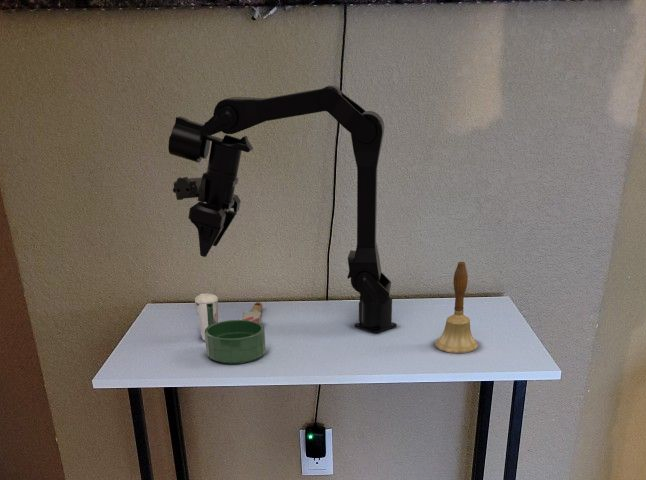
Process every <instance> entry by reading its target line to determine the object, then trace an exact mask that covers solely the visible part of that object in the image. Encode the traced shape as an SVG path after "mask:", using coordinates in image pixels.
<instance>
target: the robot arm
mask: <svg viewBox="0 0 646 480" xmlns="http://www.w3.org/2000/svg"><path fill="white" fill-rule="evenodd" d="M322 112H327V113H328V114H329V115H330V116H331V117H333V119H334V120H336V121H337V122H338V123H339V125H341V127H342V128H344V129H345V130H346V131H347V132H349V133H350V137H351V144H352V150H353V151H352V152H353V155H354V159H355V164H356V170H357V171H356V173H357V174H356V176H357V178H356V246H355V247H356V249H355V250H352V249H351V250H349V253H348V256H347V265H348V274H347V277H346V278H347V279H348V280H349V279H350V285H351V287H352V288H353V289H354V291H355V292H357V293H359V302H358V322H355V323H354V327H355V328H356V329H357V328H358V329H362V330H363V331H367V332H370V333H373V334H379V333H381V332H384V331H387V330H390V329H393V328H396V327H397V325H398V323H395V322H394V321H392V320H393V298H392V297H391V296H390V293H391V292H390V291H391V288H392V281H391V280H390V279H389V278H388V277H387V276H386V275H385V274H384V272H382V266H381V259H380V253H379V248H378V243H377V216H378V215H377V212H378V211H377V209H378V207H377V206H378V205H377V204H378V166H379V161H380V155H381V151H382V145H383V140H384V134H385V121H384V119H383V117H382V116H381V115H380V114H379V113H377V112H375V111H373V110H365V109H364V108H363V107H362V106H361V105H359V103H357V102H355V101H354V100H353V99H351V98H350V97H349V96H347V94H345V93H343V91H342V90H341V89H340V88H339V86H336V85H331V84H330V85H327V86H325V87H321V88H316V89H311V90H310V89H309V90H303V91H299V92H294V93H293V92H292V93H287V94H282V95H281V94H280V95H275V96H271V97H254V96H253V97H250V96H231V97H230V96H229V97H228V98H224V99H222V100H219V101H218V102H217V103H216V105H215V107H214V110H213V115H212V117H210V118H209V119H208V120H207V121H205V122H204V124H203V123H199V122H197V121H194V120H191V119H189V118H187V117H184V116H181V115H179V116H177V117H175V121H174V124H173V127H172V129H171V132H170V135H169V137H168V138H169V139H168V153H169V154H170V155H171V156H174V157H178V158H181V159H185V160H189V161H192V162H195V163H198V164H200V163H201V161H202V159H204V160H207V158H208V163H207V168H206V171H205V172H204V173H202V175H201V177H190V178H189V177H188V176H184V177H181V176H180V177H178V178H176V180H175V181H173V188H172V192H173V193H174V194H175V199H176V201H183V200H184V199H195V198H197V201H198V202H196V203H195V204H194V205H192V206H190V208H189V212H188V217H187V218H188V220H190V223H191V224H193V225H194V227H195V228H196V229H197V235H198V245H199V255H200V257H204V258H206V257H207V256H208V254H209V252H210V251H211V249H212V247H217V246H218V245H219V243H220V242H221V240H222V238H223V236H224V235H225V233H226V231H228V229H229V227H230V226H231V224H232V223H233V221H234V219H235V218H236V216H237V214H238V212H239V211H240V207H241V203H242V201H241V199H240V197H239V196H238V195H237V194H235V191H236V190H235V189H236V188H235V187H236V185H238V183H239V177H238V172H239V167H240V162H241V156H242V152H245V153H250V152H251V151H253V150H254V146H252V144H251V142H250V141H249V137H248V136H247V135H244V136H242V137H241V138H239V137H235V136H232V135H234V134H236V133H240V132H242V131H245V130H248V129H249V128H252V127H255V126H257V125H260V124H263V123H265V122H270V121H276V120H280V119H287V118H293V117H298V116H304V115H311V114H316V113H322ZM221 132H222V133H223V134H225V135H224V136H223V138H222V137H217V136H215V134H219V133H221ZM231 209H233V210H231Z"/></svg>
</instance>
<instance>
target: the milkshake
mask: <svg viewBox="0 0 646 480" xmlns="http://www.w3.org/2000/svg"><path fill="white" fill-rule="evenodd" d="M216 291H217V285H214V286H213V292H212V293H207V292H206V293H200V294H198V295H196V296H195V298H194V304H195V309H196V312H197V317H198V322H199V328H200V333H201V338H202V341H204V342H205V333H204V332H205V329H206V328H207V327H208V326H210V325H212V324H215V323H218V322H219V297H218V296H217V295H216Z"/></svg>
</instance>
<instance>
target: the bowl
mask: <svg viewBox="0 0 646 480" xmlns="http://www.w3.org/2000/svg"><path fill="white" fill-rule="evenodd" d="M204 333H205V341H204V342H205V351H206V355H207V357H208V358H210V359H211V360H213V361H215V362H217V363H221V364H226V365H227V364H228V365H238V364H239V365H240V364H247V363H250V362H253V361H256V360H258V359H259V358H260V357H262V356H264V354H265V353H266V352H267V350H266V336H265V335H266V334H265V333H266V332H265V326H264V325H263V323H262V324H260V323H258V322H255V321H249V320H242V319H229V320H222V321H218V323H215V324H212V325H210V326H208V327H207V328H206V329H205V332H204Z"/></svg>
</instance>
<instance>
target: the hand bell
mask: <svg viewBox="0 0 646 480" xmlns="http://www.w3.org/2000/svg"><path fill="white" fill-rule="evenodd" d="M468 275H469V274H468V271H467V266H466V262H465V261H459V262H457V265H456V268H455V271H454V274H453V290H454V296H455V297H454V298H455V300H454V309H453V310H454V311H453V312H454V313H453V314H452V315H449V316H448V317H447V318H446V321H445V326H444V329H443V332H442V333H441V335H440V336H439V337H438V338H437V339H436V340H435V342H434V346H435V348H436V349H438V350H440V351H441V352H445V353H450V354H465V353H470V352H473V351H475V350H477V349H478V348H479V345H478V341H477V340H476V339H475V338H474V336H473V334H472V330H471V319H470V317H468V316H466V315H465V314H464V302H465V301H464V298H465V293H466V291H467V287H468V282H469V280H468V278H469V276H468Z"/></svg>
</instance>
